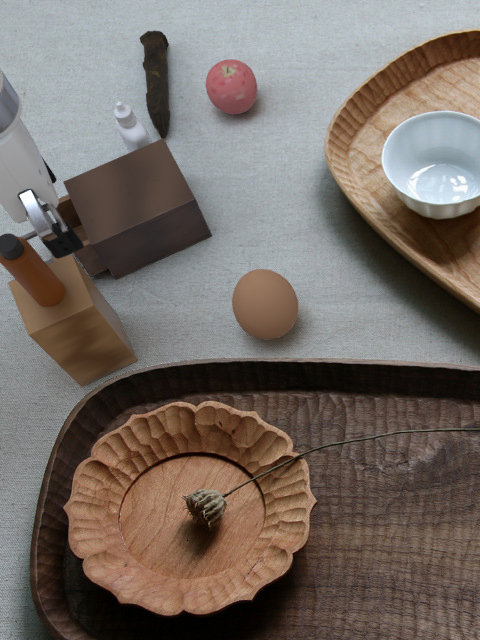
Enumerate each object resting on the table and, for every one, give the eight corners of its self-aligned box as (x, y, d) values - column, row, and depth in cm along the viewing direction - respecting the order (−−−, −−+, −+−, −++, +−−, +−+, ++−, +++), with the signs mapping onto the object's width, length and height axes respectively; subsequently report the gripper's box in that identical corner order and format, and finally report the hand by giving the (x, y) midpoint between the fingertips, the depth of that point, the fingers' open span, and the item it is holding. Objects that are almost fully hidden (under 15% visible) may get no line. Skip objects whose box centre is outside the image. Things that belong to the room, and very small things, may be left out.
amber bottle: (40, 312, 94) (-6, 262, 84) (30, 288, 95) (-16, 237, 85) (69, 298, 94) (27, 248, 84) (59, 275, 95) (17, 223, 86)
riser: (81, 387, 106) (28, 335, 92) (62, 339, 109) (7, 282, 95) (138, 360, 107) (93, 304, 94) (117, 314, 110) (71, 253, 96)
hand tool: (146, 50, 129) (135, 27, 124) (171, 47, 129) (161, 23, 124) (146, 145, 121) (135, 124, 117) (172, 141, 121) (162, 120, 117)
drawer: (43, 305, 110) (19, 279, 104) (20, 248, 114) (-5, 220, 108) (167, 248, 113) (151, 219, 107) (141, 194, 117) (124, 163, 110)
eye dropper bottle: (161, 144, 121) (133, 85, 110) (164, 174, 119) (136, 116, 108) (132, 150, 121) (101, 90, 110) (134, 179, 119) (103, 122, 108)
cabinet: (116, 280, 112) (91, 245, 104) (88, 219, 117) (62, 181, 109) (212, 236, 115) (195, 198, 107) (181, 177, 119) (163, 137, 111)
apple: (264, 86, 125) (253, 45, 117) (260, 124, 122) (248, 85, 114) (217, 87, 125) (203, 46, 118) (211, 125, 122) (196, 85, 115)
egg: (232, 316, 109) (210, 271, 99) (286, 287, 111) (270, 241, 100) (259, 363, 106) (240, 322, 96) (315, 333, 108) (302, 290, 97)
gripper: (-92, 55, 75) (1, 174, 90) (-45, 190, 68) (46, 293, 84) (-13, 24, 76) (65, 148, 91) (40, 156, 69) (114, 263, 85)
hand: (56, 217), depth 88 cm, fingers open, 9 cm apart
